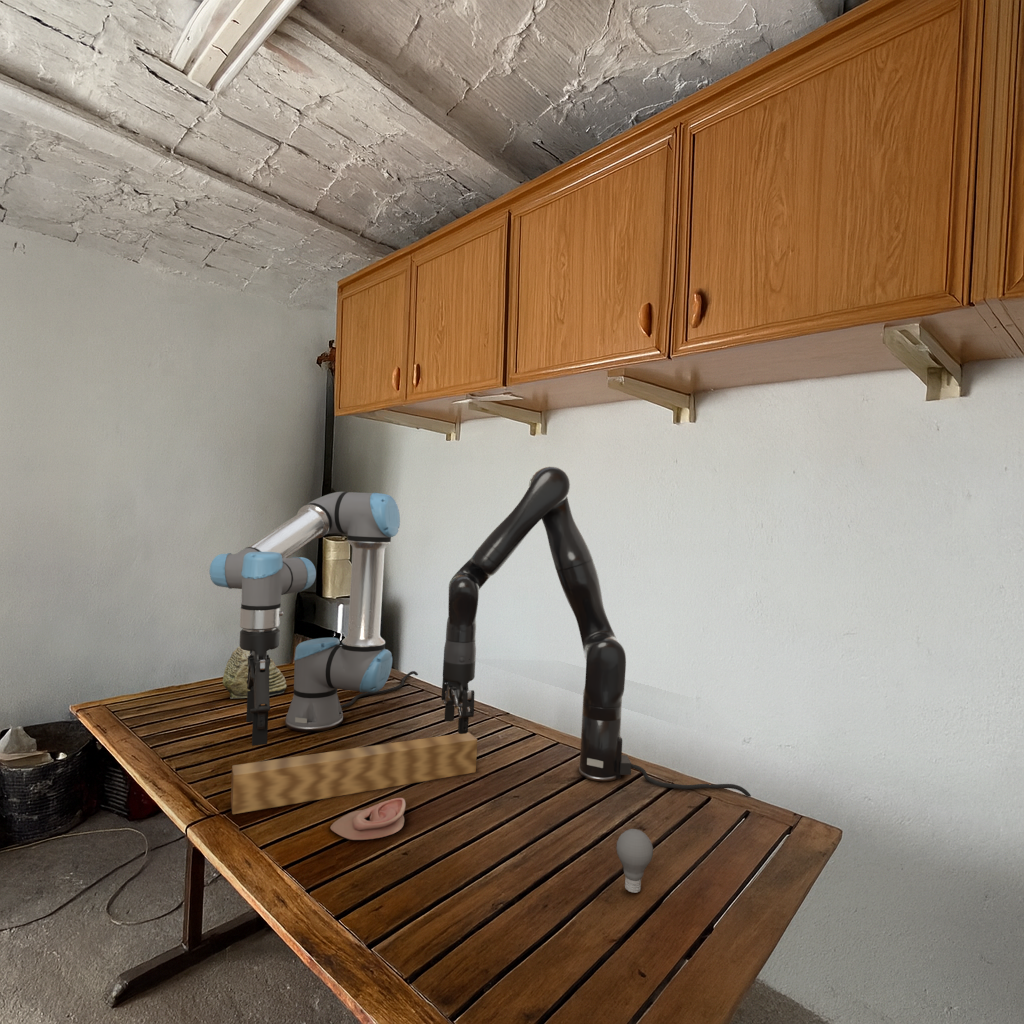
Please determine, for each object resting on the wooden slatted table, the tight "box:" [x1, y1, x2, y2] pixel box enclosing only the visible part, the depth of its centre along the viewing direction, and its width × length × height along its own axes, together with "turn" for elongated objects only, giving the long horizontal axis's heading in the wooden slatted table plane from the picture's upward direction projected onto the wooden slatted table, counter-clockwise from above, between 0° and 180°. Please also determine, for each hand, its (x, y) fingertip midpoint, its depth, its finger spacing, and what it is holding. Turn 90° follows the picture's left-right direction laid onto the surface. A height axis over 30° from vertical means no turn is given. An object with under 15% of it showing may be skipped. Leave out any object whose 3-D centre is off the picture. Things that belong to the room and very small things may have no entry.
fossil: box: [222, 646, 288, 699], centre depth 198 cm, size 9×18×15 cm, turn 132°
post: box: [230, 731, 478, 815], centre depth 139 cm, size 53×5×8 cm, turn 117°
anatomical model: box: [330, 797, 407, 841], centre depth 123 cm, size 13×4×12 cm
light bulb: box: [615, 828, 654, 894], centre depth 106 cm, size 6×6×10 cm
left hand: (256, 732), depth 129 cm, fingers open, 13 cm apart
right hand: (455, 726), depth 149 cm, fingers open, 8 cm apart
